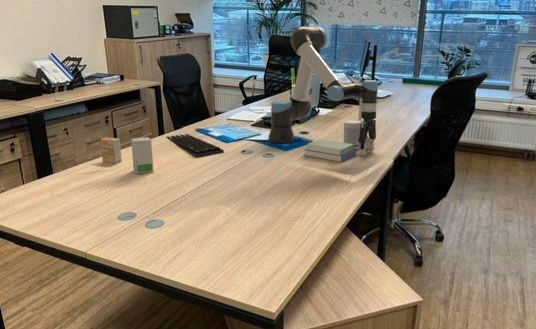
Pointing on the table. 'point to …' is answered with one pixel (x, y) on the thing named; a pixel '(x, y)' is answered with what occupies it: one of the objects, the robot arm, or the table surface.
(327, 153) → the book pile
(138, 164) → the skincare box
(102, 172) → the table surface
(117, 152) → the supplement box
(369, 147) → the game die
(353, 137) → the supplement tub
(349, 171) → the table surface
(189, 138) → the computer keyboard
